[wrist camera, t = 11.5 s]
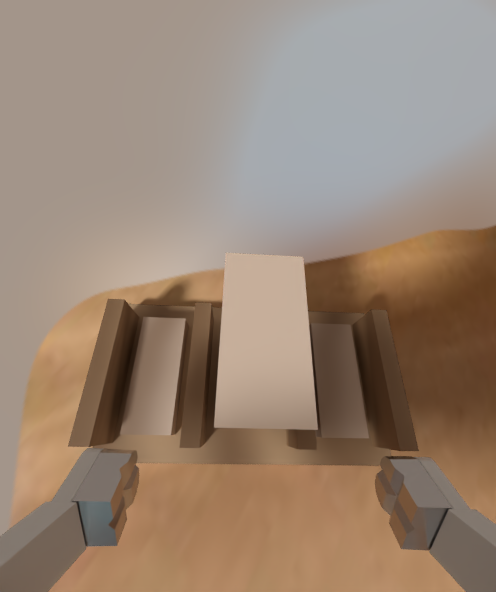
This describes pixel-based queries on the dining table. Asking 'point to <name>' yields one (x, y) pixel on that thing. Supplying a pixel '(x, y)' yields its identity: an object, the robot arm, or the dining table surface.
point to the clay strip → (265, 346)
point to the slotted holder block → (203, 384)
